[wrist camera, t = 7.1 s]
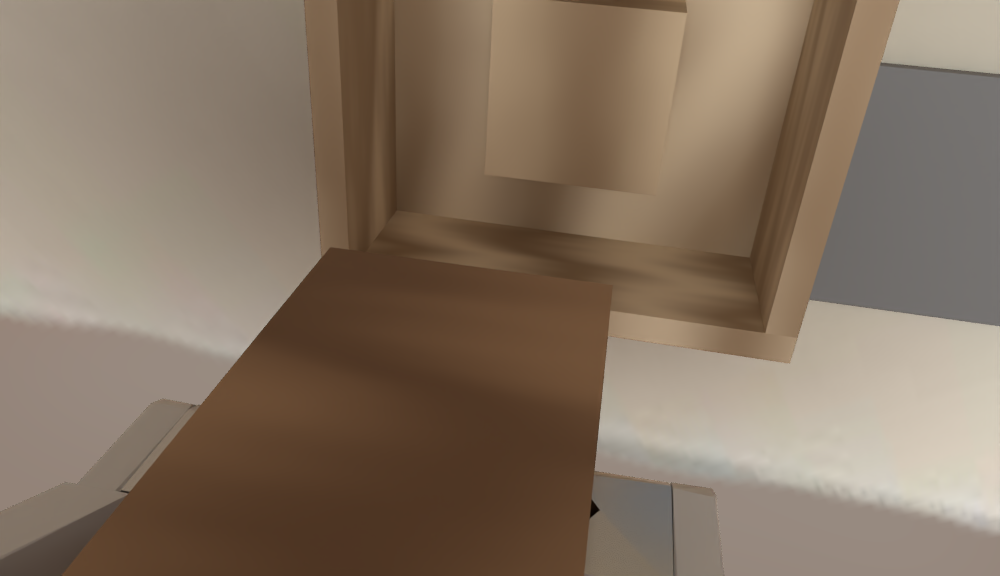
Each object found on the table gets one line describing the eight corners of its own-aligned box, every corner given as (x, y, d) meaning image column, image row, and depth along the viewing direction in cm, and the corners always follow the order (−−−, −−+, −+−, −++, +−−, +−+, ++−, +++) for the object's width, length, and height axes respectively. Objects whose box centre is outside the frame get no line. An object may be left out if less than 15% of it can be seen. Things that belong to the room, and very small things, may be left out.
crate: (378, 223, 32) (323, 293, 27) (368, -162, 25) (292, -165, 20) (768, 276, 30) (789, 363, 25) (876, -128, 23) (936, -122, 18)
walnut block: (343, 458, 13) (136, 861, 8) (330, 247, 11) (39, 601, 6) (580, 498, 12) (527, 957, 7) (612, 285, 10) (571, 709, 5)
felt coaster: (804, 293, 30) (806, 299, 30) (873, 62, 26) (877, 65, 25) (1050, 327, 29) (1056, 334, 29) (1168, 91, 24) (1177, 95, 24)
